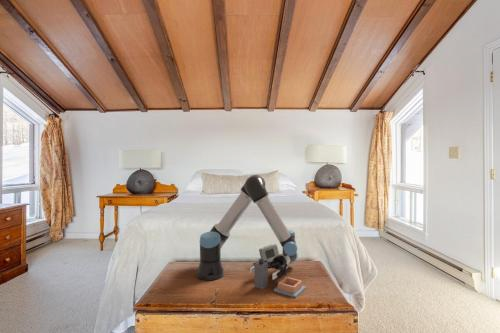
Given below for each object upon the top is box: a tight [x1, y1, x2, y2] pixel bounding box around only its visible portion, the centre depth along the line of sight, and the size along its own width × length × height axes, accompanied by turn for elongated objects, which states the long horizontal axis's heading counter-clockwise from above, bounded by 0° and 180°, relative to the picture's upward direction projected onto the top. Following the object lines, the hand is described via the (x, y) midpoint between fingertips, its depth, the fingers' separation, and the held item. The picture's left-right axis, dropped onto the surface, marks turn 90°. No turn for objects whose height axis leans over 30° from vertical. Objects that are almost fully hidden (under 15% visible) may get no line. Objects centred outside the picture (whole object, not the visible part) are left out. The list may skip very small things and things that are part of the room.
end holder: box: [273, 276, 307, 299], centre depth 138 cm, size 12×12×4 cm
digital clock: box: [258, 243, 280, 262], centre depth 176 cm, size 16×9×11 cm, turn 122°
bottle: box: [253, 258, 269, 291], centre depth 142 cm, size 5×5×14 cm
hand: (261, 273), depth 141 cm, fingers open, 13 cm apart
